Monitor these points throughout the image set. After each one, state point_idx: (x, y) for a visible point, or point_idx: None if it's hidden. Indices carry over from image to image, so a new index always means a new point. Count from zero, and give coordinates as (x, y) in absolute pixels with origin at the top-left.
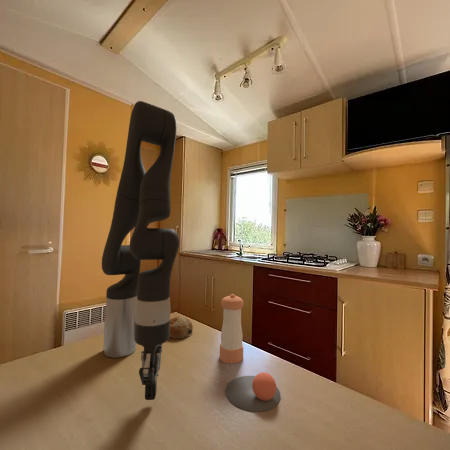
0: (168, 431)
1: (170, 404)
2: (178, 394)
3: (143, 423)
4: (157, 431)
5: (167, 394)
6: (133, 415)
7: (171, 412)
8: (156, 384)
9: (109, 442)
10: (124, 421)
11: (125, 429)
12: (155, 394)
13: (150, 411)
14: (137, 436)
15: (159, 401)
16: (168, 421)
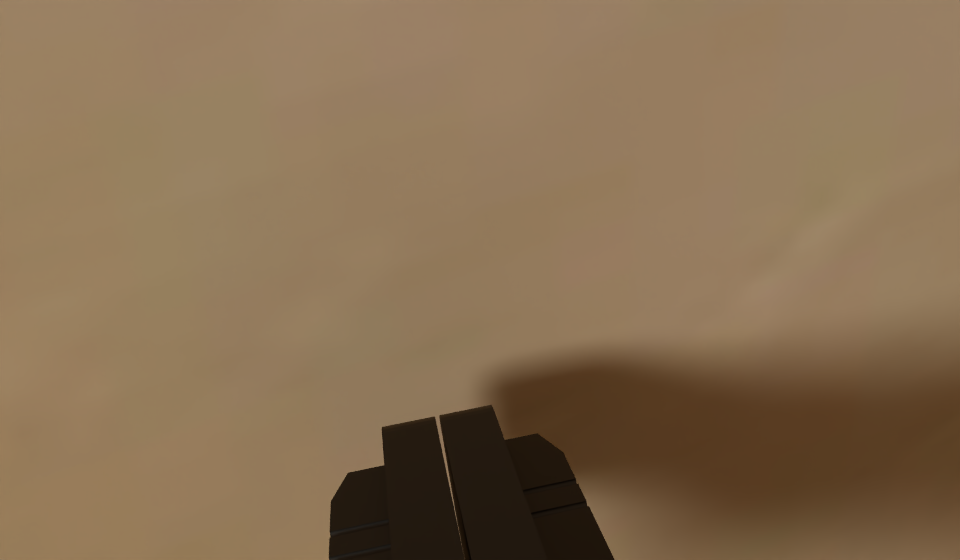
0: (910, 12)
1: (396, 134)
2: (108, 60)
3: (754, 362)
4: (890, 157)
5: (157, 257)
6: (629, 515)
7: (570, 67)
8: (413, 540)
9: (949, 546)
10: (714, 555)
11: (820, 496)
12: (482, 433)
13: (560, 363)
14: (925, 346)
15: (350, 321)
16: (743, 62)
